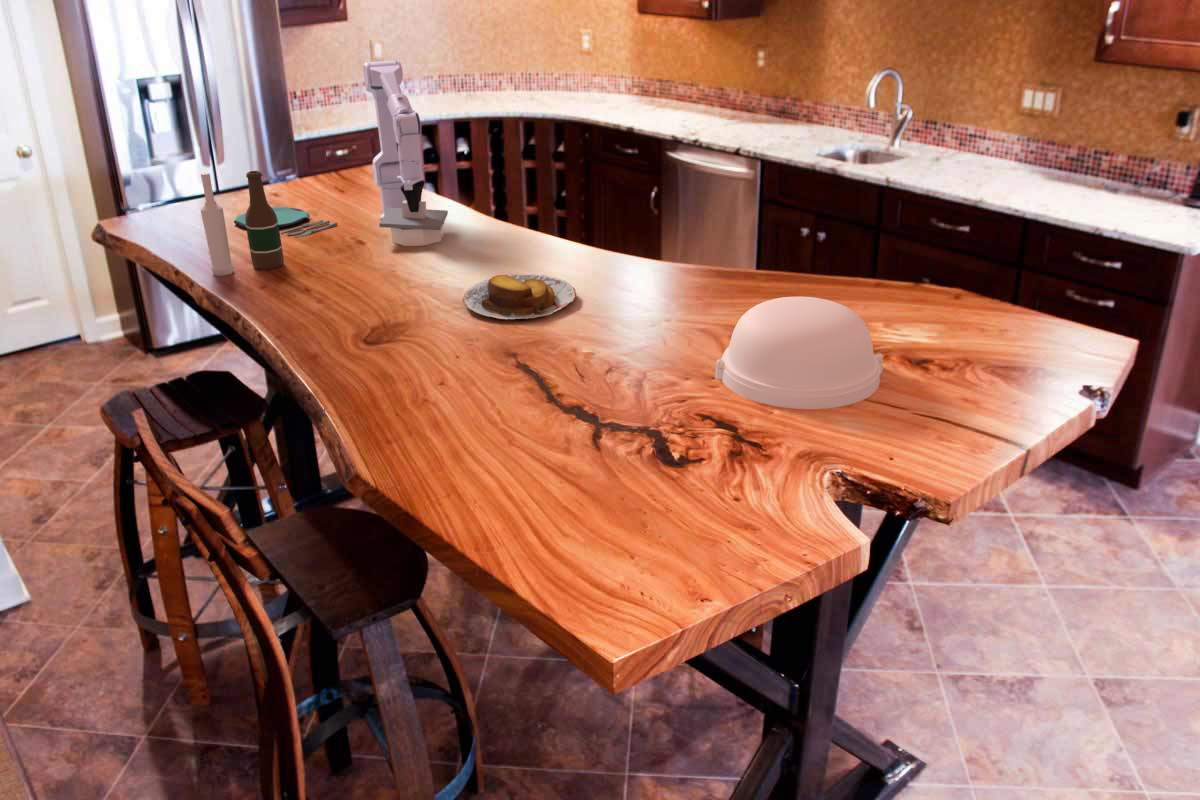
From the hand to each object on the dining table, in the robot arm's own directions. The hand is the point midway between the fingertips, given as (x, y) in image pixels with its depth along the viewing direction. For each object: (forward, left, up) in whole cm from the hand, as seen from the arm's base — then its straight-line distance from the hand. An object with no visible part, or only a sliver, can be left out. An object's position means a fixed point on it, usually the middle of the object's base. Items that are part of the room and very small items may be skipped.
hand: (415, 210), depth 284 cm
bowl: (0, 0, -8) cm, 8 cm away
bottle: (+26, -45, -8) cm, 53 cm away
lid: (0, 0, -3) cm, 3 cm away
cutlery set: (-18, -41, -9) cm, 46 cm away
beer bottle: (+21, -35, -8) cm, 42 cm away
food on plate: (+53, +31, -8) cm, 62 cm away
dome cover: (+97, +87, -8) cm, 130 cm away
